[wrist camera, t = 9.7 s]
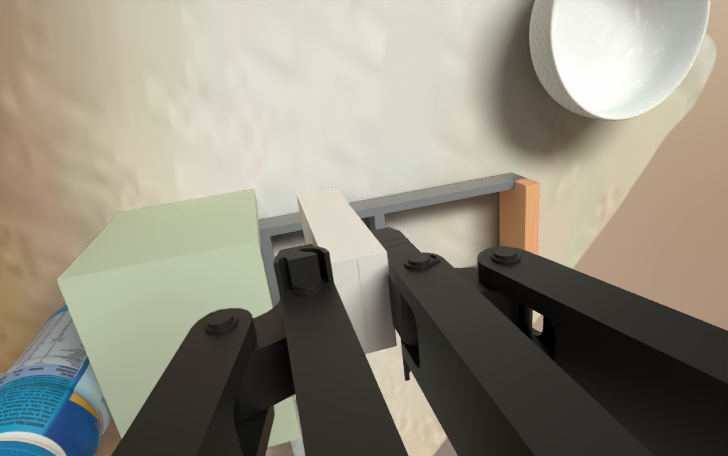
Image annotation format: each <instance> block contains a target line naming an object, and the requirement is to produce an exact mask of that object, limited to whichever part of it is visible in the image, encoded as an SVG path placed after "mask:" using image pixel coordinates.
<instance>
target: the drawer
mask: <svg viewBox="0 0 728 456" xmlns="http://www.w3.org/2000/svg"><path fill="white" fill-rule="evenodd" d="M539 191H540V183H538V182H536V181H533V180H530V179H528V178H525V177H522V176H519V175H517V174H514V173H507V174H502V175H496V176H491V177H486V178H480V179H475V180H469V181H464V182H459V183H453V184H448V185H443V186H437V187H432V188H426V189H421V190H416V191H410V192H405V193H400V194H394V195H389V196H384V197H378V198H373V199H367V200H362V201H357V202H351V203H348V204H349V205H350V206H351V207H352V209H353V210H354V211H355V212H356V214H357V215H358V216H359V217H360V219H361V218H366V217H368V223H369V230H370V231H372V230H377V229H382V228H386V225H385V215H384V214H387V213H392V212H397V211H402V210H407V209H412V208H418V207H423V206H428V205H433V204H438V203H443V202H448V201H454V200H459V199H464V198H469V197H474V196H479V195H484V194H490V193H495V192H499V233H500V247H501V246H508V247H515V248H519V249H523V250H526V251H528V252H531V253H533V254H536V255H538V227H539ZM258 222H259V235H260V246H261V251H262V255H263V260H264V264H265V269H266V274H267V278H268V283H269V288H270V292H271V297H272V301H273V306H274V307H275V306H276V305H277V304H278V302H279V300H280V294H279V289H278V284H277V280H276V275H275V270H274V265H273V262H274V259H275V256H274V251H273V246H272V241H271V236H273V235H279V234H284V233H289V232H294V231H299V230H303V227H302V222H301V216H300V212H298V213H292V214H287V215H282V216H276V217H271V218H266V219H260V220H258ZM472 267H478V265H476V266H472ZM472 267H467V268H472Z"/></svg>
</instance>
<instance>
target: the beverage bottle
mask: <svg viewBox="0 0 728 456" xmlns="http://www.w3.org/2000/svg"><path fill="white" fill-rule="evenodd" d="M111 420H112V415H111V412H110V410H109V407H108V405H107V402H106V400H105V397H104V395H103V393H102V390H101V388H100V385H99V383H98V380H97V378H96V375H95V373H94V370H93V368H92V366H91V363H90V361H89V358H88V356H87V353H86V351H85V348H84V346H83V344H82V341H81V339H80V336H79V334H78V331H77V329H76V326H75V324H74V322H73V319H72V317H71V314H70V312H69V309H68V307H67V304H66V305H64V306H63V307H61V308H60V309H58V310H57V311H56V312H55V313H53V314H52V316H51V317H50V318H49V319H48V320H47V322H46V323H45V325H44V326H43V328H42V329H41V330H40V332H39V333H38V334H37V336H36V337H35V338H34V339H33V341H32V342H31V343H30V344H29V345H28V347H27V348H26V349H25V350H24V352H23V353H22V354H21V355H20V356H19V358H18V359H17V360H16V361H15V362H14V364H13V365H12V366H11V367H10V369H8V370H7V371H5V372H4V373H3V374H2V375H1V376H0V456H94V455H95V453H96V452H97V450H98V448H99V445H100V442H101V439H102V435H103V434H104V432H105V431H106V429H107V428H108V426H109V424H110V422H111Z"/></svg>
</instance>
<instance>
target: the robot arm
mask: <svg viewBox="0 0 728 456" xmlns="http://www.w3.org/2000/svg"><path fill="white" fill-rule="evenodd" d="M297 199H298V205H299V210H300V216H301V222H302V227H303V233H304V239H305V244H306V245H304V246H299V247H294V248H289V249H284V250H280V252H279V253H278V254H277V256H276V257H275V259H274V262H273V265H274V270H275V275H276V280H277V284H278V289H279V294H280V300H279V302H278V304H277V305H276V306H275V307H274V308H272V309H271V310H269V311H268V312H266V313H264V314H262V315H260V316H258V317H255V318H253V317H252V314H251V313H250V312H249V311H248V310H245V309H242V308H228V309H220V310H216V311H215V312H214V311H213V312H211V313H209V314H207V315H206V316H205V317H203V318H201V319H200V320H198V321H197V322H196V323H195V324H194V325H193V326H192V327H191V329H190V331H189V332H188V334H187V335H186V337H185V339H184V340H183V342H182V343H181V345H180V347H179V348H178V350H177V351H176V353H175V355H174V356H173V358H172V360H171V361H170V363H169V364H168V366H167V368H166V369H165V371H164V372H163V374H162V376H161V377H160V379H159V380H158V382H157V384H156V385H155V387H154V388H153V390H152V392H151V393H150V395H149V396H148V398H147V400H146V401H145V403H144V404H143V406H142V408H141V409H140V411H139V412H138V414H137V416H136V417H135V419H134V420H133V422H132V424H131V425H130V427H129V428H128V430H127V432H126V433H125V435H124V436H123V438H122V440H121V441H120V443H119V444H118V446H117V448H116V449H115V451H114V452H113V454H112V456H265V455H266V451H267V446H268V442H269V438H270V434H271V429H272V425H273V421H274V417H275V410H274V405H276V404H277V403H279V402H281V401H283V400H285V399H287V398H289V397H291V396H293V395H294V394H295V395H296V401H297V407H298V414H299V420H300V426H301V432H302V439H303V445H304V451H305V456H408V454H407V451H406V449H405V447H404V444H403V442H402V440H401V437H400V435H399V433H398V430H397V428H396V426H395V423H394V421H393V419H392V416H391V414H390V412H389V409H388V407H387V405H386V402H385V400H384V398H383V395H382V393H381V391H380V388H379V386H378V384H377V381H376V379H375V377H374V374H373V372H372V370H371V367H370V365H369V363H368V360H367V358H366V356H365V354H367V353H371V352H375V351H379V350H382V349H386V348H390V347H394V346H397V343H396V333H395V329H396V331H397V332H398V334H399V336H400V337H401V346H402V356H403V366H404V375H405V380H406V381H408V380H410V377H409V373H410V371H411V372H412V373H413V375H414V377H415V379H416V381H417V382H418V384H419V386H420V388H421V390H422V391H423V393H424V395H425V397H426V399H427V401H428V402H429V404H430V406H431V408H432V410H433V411H434V413H435V415H436V417H437V419H438V420H439V422H440V424H441V426H442V428H443V430H444V431H445V433H446V435H447V437H448V439H449V440H450V442H451V444H452V446H453V447H454V449H455V451H456V453H457V455H458V456H728V331H727V330H724V329H722V328H719V327H717V326H714V325H712V324H709V323H707V322H704V321H702V320H699V319H697V318H694V317H692V316H689V315H687V314H684V313H682V312H679V311H677V310H674V309H672V308H669V307H667V306H664V305H661V304H659V303H657V302H654V301H652V300H649V299H647V298H644V297H642V296H639V295H636V294H634V293H631V292H629V291H626V290H624V289H621V288H619V287H616V286H614V285H611V284H609V283H606V282H604V281H601V280H599V279H596V278H594V277H591V276H589V275H586V274H584V273H581V272H579V271H576V270H574V269H571V268H569V267H566V266H564V265H561V264H559V263H556V262H554V261H551V260H548V259H546V258H543V257H541V256H538V255H536V254H533V253H531V252H528V251H526V250H523V249H519V248H515V247H508V246H501V247H500V246H496V247H493V248H490V249H486V250H484V251H483V252H481V253H480V254H479V255H478V257H477V261H478V267H472V268H454V267H453V266H451V265H450V264H449V263H448V262H447V261H446V260H445V259H444V258H443V257H441V256H439V255H437V254H432V253H421V252H420V251H419V250H418V249H417V248H416V247H415V246H414V245H413V244H412V243H410V241H409V240H408V239H407V238H406V237H405V236H404V235H403V234H402V233H401V232H400V231H398V230H395V229H393V228H390V227H387V228H382V229H377V230H372V231H370V230H369V229H368V227H367V226H366V225H365V224H364V222H363V221H362V220H361V219H360V217H359V216H358V215H357V214H356V212H355V211H354V210H353V209H352V207H351V206H350V205H349V204H348V202H347V201H346V200H345V198H344V197H343V196H342V195H341V193H340V192H339V191H338V190H337V188H332V189H326V190H321V191H315V192H310V193H304V194H298V195H297ZM533 310H534V311H536V312H538V313H540V314H542V315H543V317H544V318H543V331H542V332H539V331H537V330H535V329H533V328H532V314H533Z"/></svg>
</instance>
